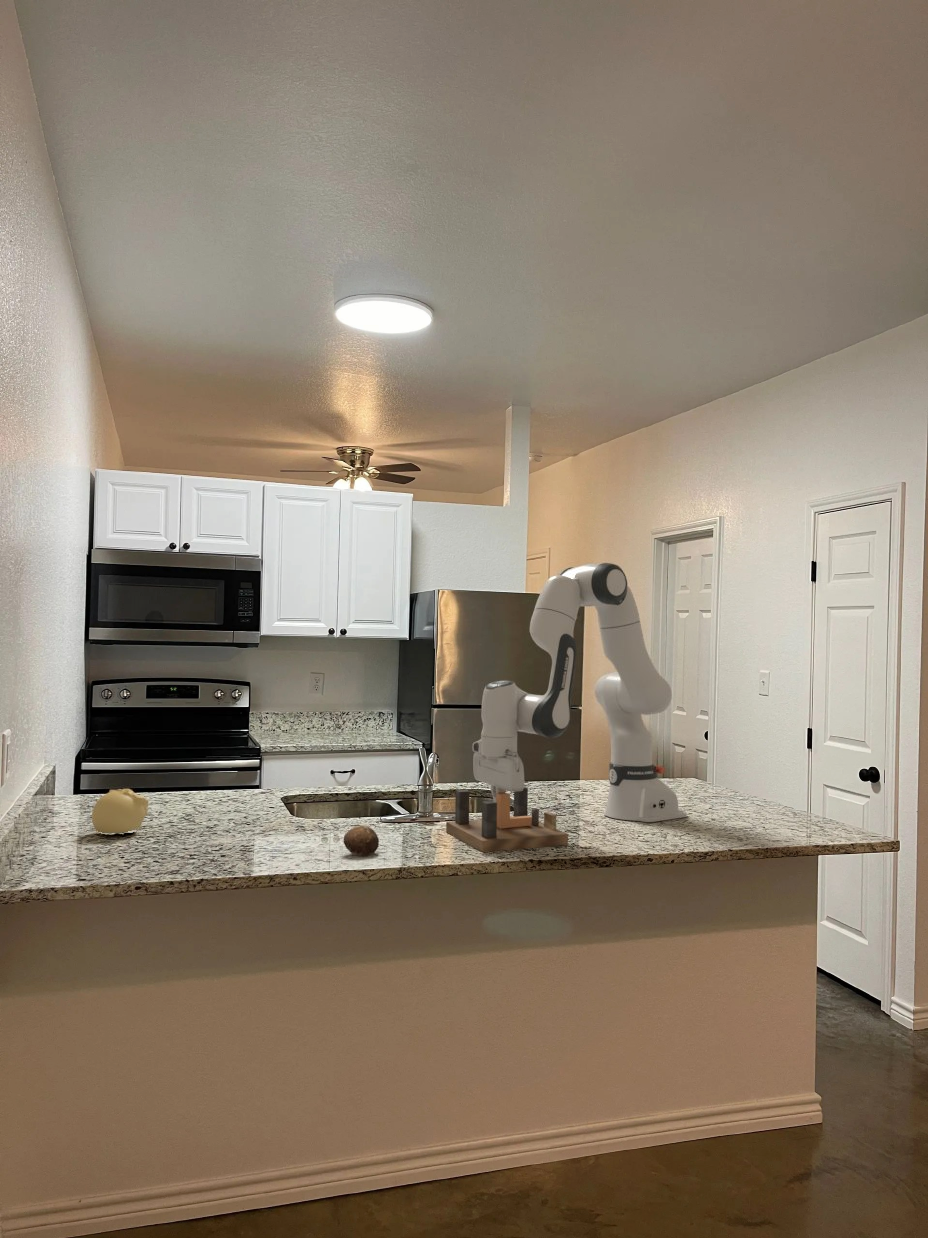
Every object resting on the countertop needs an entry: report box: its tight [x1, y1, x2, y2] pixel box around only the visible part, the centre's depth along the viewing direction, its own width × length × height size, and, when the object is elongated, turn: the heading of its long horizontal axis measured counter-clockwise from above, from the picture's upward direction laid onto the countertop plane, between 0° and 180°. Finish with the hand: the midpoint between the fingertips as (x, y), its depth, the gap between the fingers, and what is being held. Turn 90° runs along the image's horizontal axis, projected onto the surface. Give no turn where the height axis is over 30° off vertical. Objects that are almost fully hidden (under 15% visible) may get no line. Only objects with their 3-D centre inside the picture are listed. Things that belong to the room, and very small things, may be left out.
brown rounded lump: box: [342, 825, 380, 857], centre depth 208 cm, size 8×8×6 cm
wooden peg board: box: [445, 786, 569, 853], centre depth 225 cm, size 22×22×10 cm
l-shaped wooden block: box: [496, 792, 532, 829], centre depth 225 cm, size 9×3×8 cm, turn 115°
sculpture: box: [91, 788, 149, 833], centre depth 223 cm, size 12×12×11 cm
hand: (497, 804), depth 227 cm, fingers closed
